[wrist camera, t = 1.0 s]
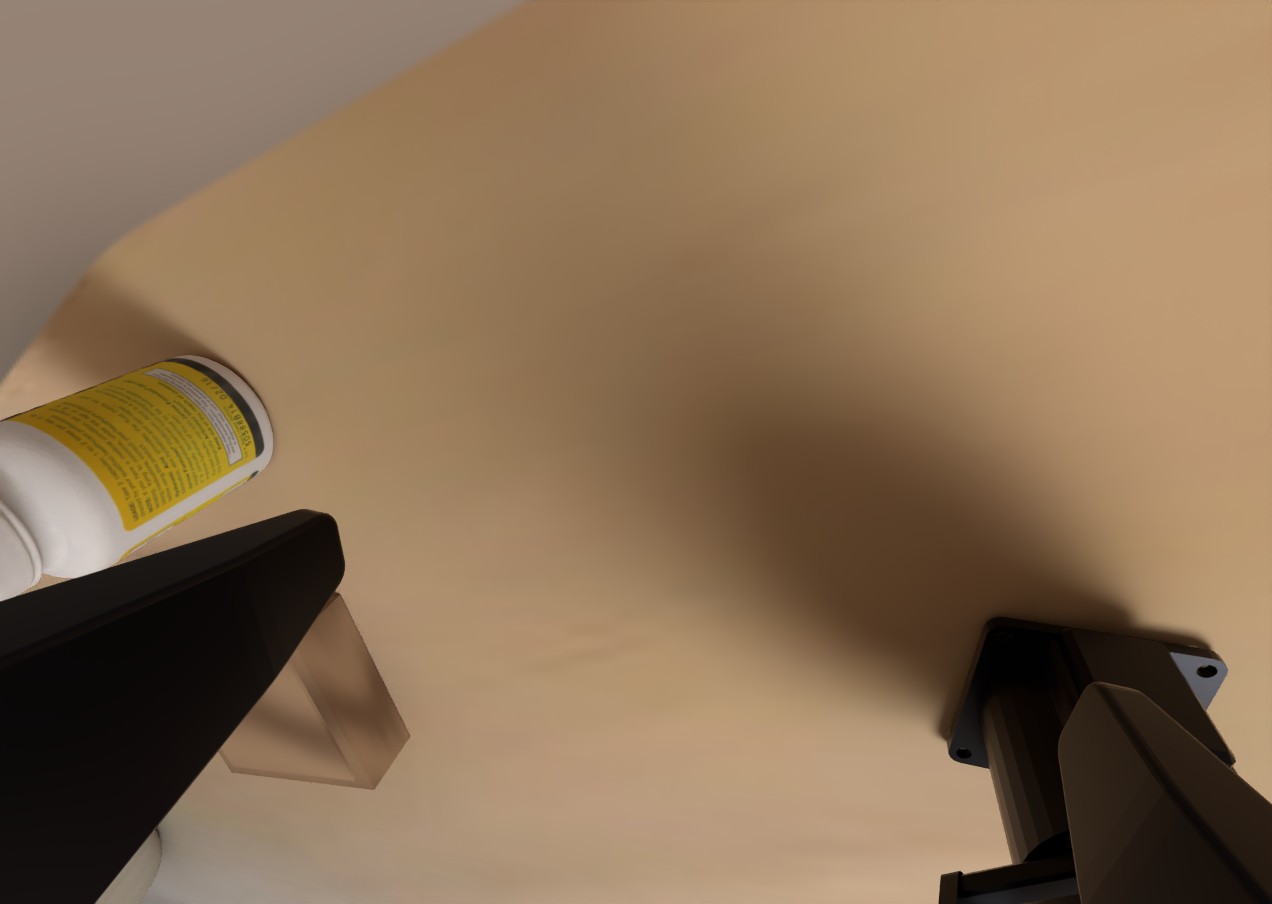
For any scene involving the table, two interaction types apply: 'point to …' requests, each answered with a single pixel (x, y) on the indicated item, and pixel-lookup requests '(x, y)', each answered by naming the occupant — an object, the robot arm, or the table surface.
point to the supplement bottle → (122, 466)
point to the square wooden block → (322, 713)
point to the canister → (135, 875)
